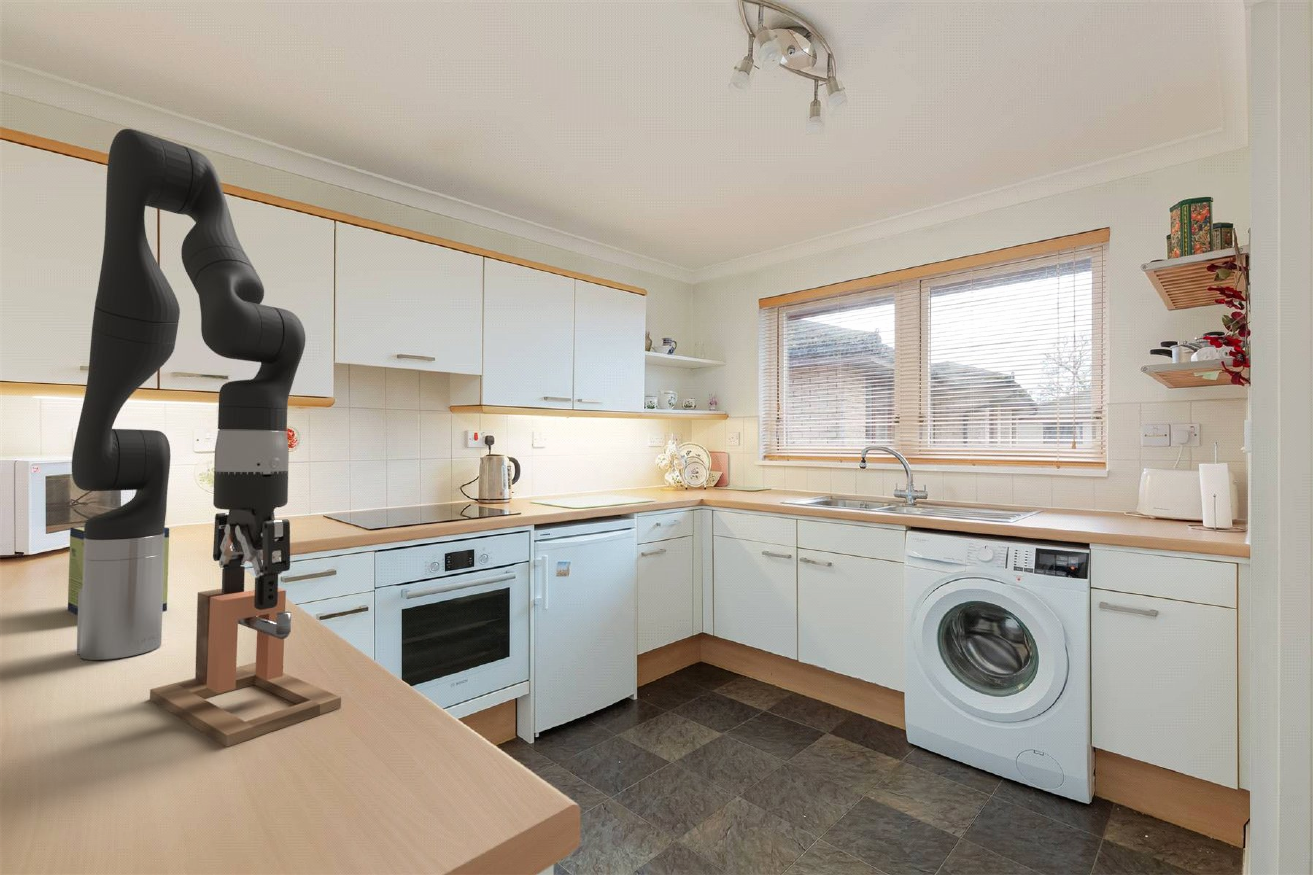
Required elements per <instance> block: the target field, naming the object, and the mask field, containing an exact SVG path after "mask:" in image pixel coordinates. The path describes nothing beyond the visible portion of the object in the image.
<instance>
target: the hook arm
mask: <svg viewBox="0 0 1313 875" xmlns="http://www.w3.org/2000/svg"><path fill="white" fill-rule="evenodd" d="M238 625H241V626H244V627H247V628H249V629H251V630H254V631H256V632H257V631H259V632H262V633H265V634H268V635H270V636H273V637H276V638H279V639H284V640H285V639H287V638H288V637H289V635H290V633H291V632H292V630H291V629H292V627H291V626H292V612H291V611H285V612H280V613H277V621H276V623H274V622H272V621H269V620H266V619H263V618H260V617H258V616H254V617H249V618H243V619H238Z"/></svg>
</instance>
